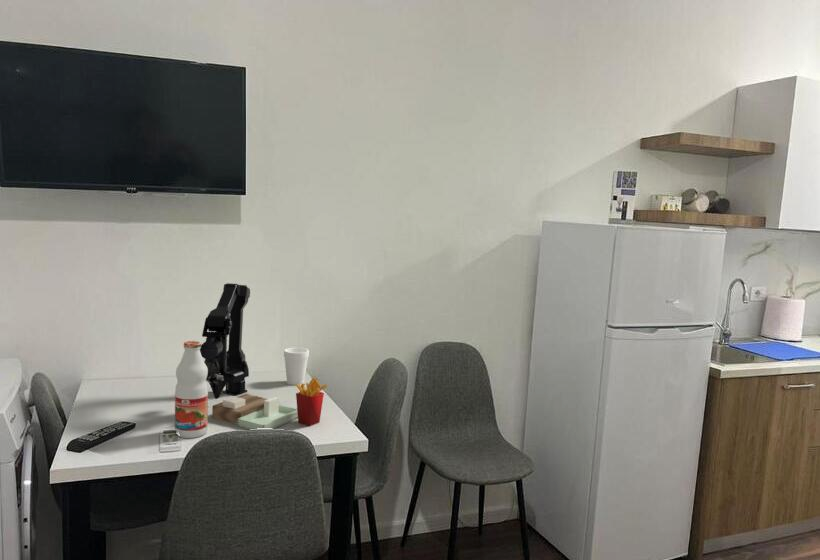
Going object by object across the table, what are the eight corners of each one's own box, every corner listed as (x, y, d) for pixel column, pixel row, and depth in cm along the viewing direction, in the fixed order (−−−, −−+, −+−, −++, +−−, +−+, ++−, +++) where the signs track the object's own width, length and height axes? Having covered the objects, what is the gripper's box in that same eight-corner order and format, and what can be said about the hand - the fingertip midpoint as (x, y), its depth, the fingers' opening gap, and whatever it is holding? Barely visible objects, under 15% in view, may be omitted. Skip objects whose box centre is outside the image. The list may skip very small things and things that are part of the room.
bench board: (212, 417, 215) (212, 405, 214) (245, 405, 229) (246, 393, 228) (240, 424, 209) (241, 412, 209) (273, 411, 224) (273, 400, 223)
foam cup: (305, 387, 254) (306, 353, 252) (281, 385, 254) (282, 352, 252) (309, 380, 263) (310, 348, 262) (286, 379, 263) (287, 347, 262)
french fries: (293, 423, 214) (295, 377, 212) (310, 416, 221) (312, 372, 219) (315, 429, 209) (316, 383, 207) (331, 422, 216) (333, 377, 214)
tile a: (264, 400, 217) (269, 401, 216) (274, 397, 221) (278, 398, 220) (263, 415, 218) (268, 416, 217) (273, 411, 222) (278, 412, 221)
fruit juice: (213, 429, 204) (214, 340, 201) (198, 440, 195) (199, 347, 191) (184, 426, 206) (185, 338, 202) (168, 436, 196) (169, 344, 193)
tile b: (222, 406, 214) (222, 400, 214) (233, 402, 219) (233, 396, 218) (234, 409, 212) (234, 403, 212) (245, 405, 216) (245, 399, 216)
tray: (237, 426, 208) (237, 418, 208) (276, 410, 225) (276, 403, 225) (264, 433, 203) (264, 425, 203) (301, 416, 220) (301, 409, 220)
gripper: (177, 352, 214) (177, 399, 216) (221, 361, 205) (220, 410, 207) (203, 346, 224) (202, 391, 226) (246, 354, 215) (245, 401, 217)
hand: (216, 398), depth 219 cm, fingers closed
